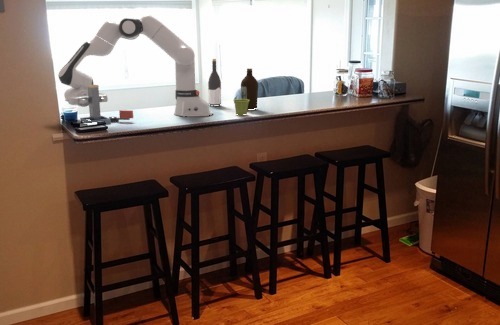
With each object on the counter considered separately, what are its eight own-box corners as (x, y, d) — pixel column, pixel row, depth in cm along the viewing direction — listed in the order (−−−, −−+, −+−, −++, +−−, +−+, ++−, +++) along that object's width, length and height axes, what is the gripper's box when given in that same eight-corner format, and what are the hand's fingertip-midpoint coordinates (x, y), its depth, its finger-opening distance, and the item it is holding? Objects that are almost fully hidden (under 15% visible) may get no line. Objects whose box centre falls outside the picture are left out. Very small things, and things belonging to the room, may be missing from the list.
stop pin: (97, 120, 259) (94, 84, 254) (101, 121, 256) (98, 85, 252) (90, 121, 256) (87, 85, 252) (93, 122, 254) (90, 85, 249)
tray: (103, 120, 265) (102, 115, 264) (110, 123, 255) (110, 118, 255) (80, 122, 258) (80, 117, 257) (87, 125, 248) (87, 121, 248)
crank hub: (120, 120, 264) (119, 118, 264) (117, 122, 258) (117, 120, 258) (108, 120, 264) (108, 118, 263) (105, 122, 258) (105, 120, 258)
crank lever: (107, 120, 259) (107, 110, 257) (110, 118, 263) (109, 109, 261) (132, 120, 258) (131, 111, 257) (134, 119, 262) (133, 110, 260)
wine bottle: (214, 104, 325) (214, 58, 318) (223, 105, 320) (223, 58, 313) (206, 105, 319) (205, 58, 312) (215, 107, 314) (214, 59, 307)
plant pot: (252, 114, 285) (252, 99, 283) (244, 116, 277) (244, 101, 275) (238, 113, 289) (238, 98, 287) (230, 115, 282) (230, 100, 279)
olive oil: (252, 108, 311) (253, 67, 304) (261, 110, 302) (261, 69, 295) (237, 109, 306) (237, 68, 299) (245, 111, 297) (245, 69, 290)
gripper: (63, 93, 255) (74, 96, 245) (99, 90, 269) (112, 93, 259) (64, 106, 257) (75, 108, 247) (100, 102, 270) (112, 105, 260)
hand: (94, 100), depth 253 cm, fingers open, 8 cm apart
